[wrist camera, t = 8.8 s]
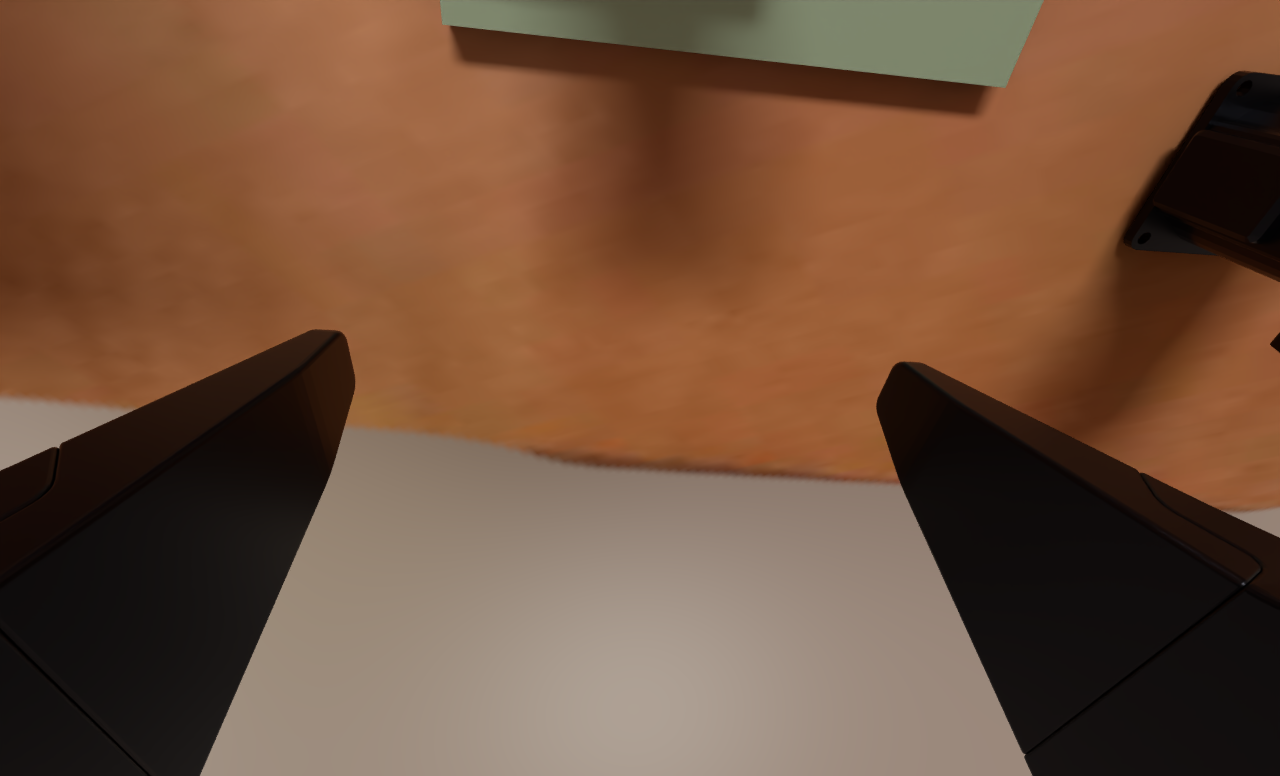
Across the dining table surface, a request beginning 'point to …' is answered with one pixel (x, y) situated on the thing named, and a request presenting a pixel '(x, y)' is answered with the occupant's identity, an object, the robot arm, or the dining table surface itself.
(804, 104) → the dining table surface
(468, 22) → the green base with tray
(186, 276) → the dining table surface
